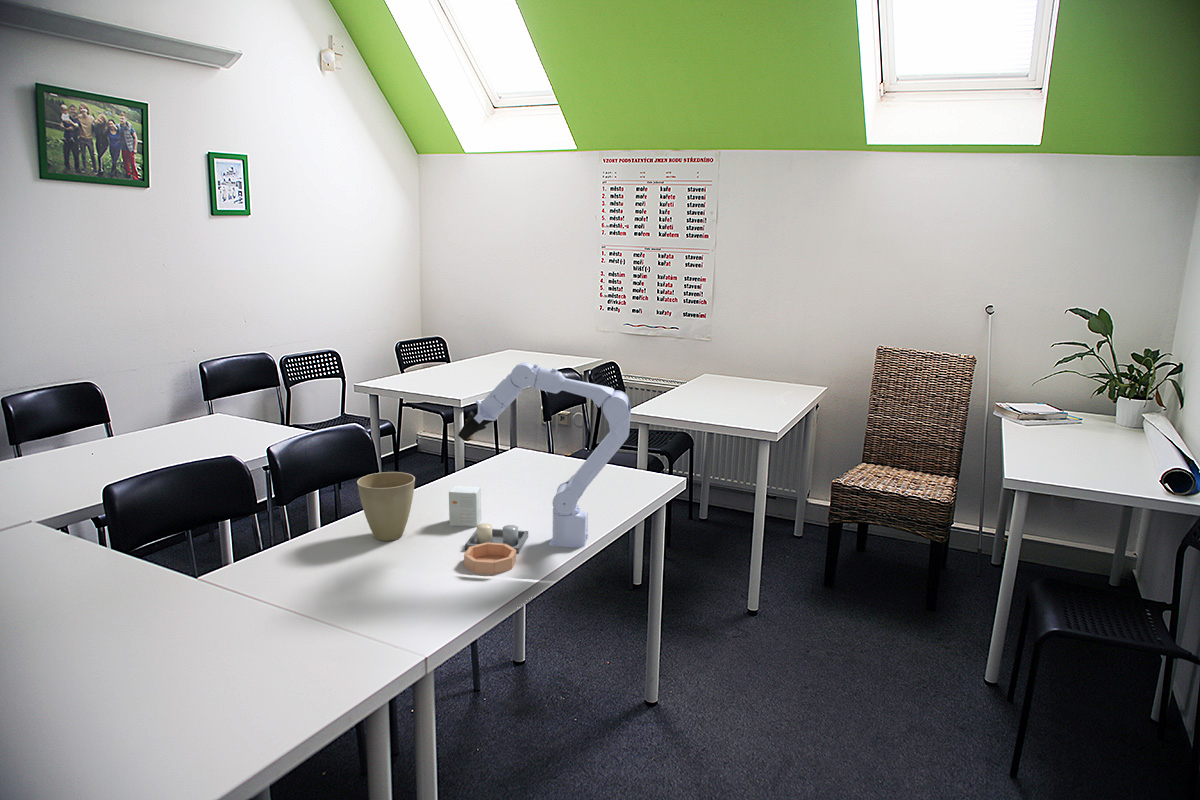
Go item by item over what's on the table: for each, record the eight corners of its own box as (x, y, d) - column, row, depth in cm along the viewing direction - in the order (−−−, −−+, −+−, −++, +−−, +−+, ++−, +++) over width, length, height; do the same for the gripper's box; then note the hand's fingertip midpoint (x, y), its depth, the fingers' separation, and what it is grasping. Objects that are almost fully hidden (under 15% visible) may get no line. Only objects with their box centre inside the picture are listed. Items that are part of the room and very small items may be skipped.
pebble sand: (493, 539, 208) (493, 523, 207) (490, 545, 204) (489, 529, 203) (479, 538, 209) (479, 522, 208) (475, 544, 205) (475, 528, 204)
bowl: (519, 557, 199) (519, 544, 198) (508, 577, 187) (508, 563, 186) (473, 554, 200) (473, 541, 199) (459, 573, 188) (459, 560, 188)
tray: (528, 538, 211) (528, 531, 211) (518, 555, 200) (518, 548, 199) (477, 534, 213) (477, 527, 212) (465, 552, 201) (465, 544, 201)
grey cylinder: (519, 541, 207) (519, 525, 206) (516, 547, 204) (516, 531, 203) (504, 540, 208) (504, 524, 207) (501, 546, 204) (501, 530, 203)
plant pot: (423, 527, 217) (422, 472, 214) (405, 548, 203) (403, 489, 199) (372, 524, 219) (369, 470, 215) (350, 544, 204) (347, 486, 201)
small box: (482, 522, 223) (481, 486, 220) (477, 529, 217) (476, 493, 215) (454, 520, 223) (454, 485, 221) (448, 527, 218) (448, 491, 216)
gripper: (495, 383, 209) (462, 418, 212) (481, 392, 195) (446, 429, 198) (514, 402, 210) (480, 436, 212) (501, 412, 195) (465, 448, 198)
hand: (465, 434), depth 205 cm, fingers open, 7 cm apart
